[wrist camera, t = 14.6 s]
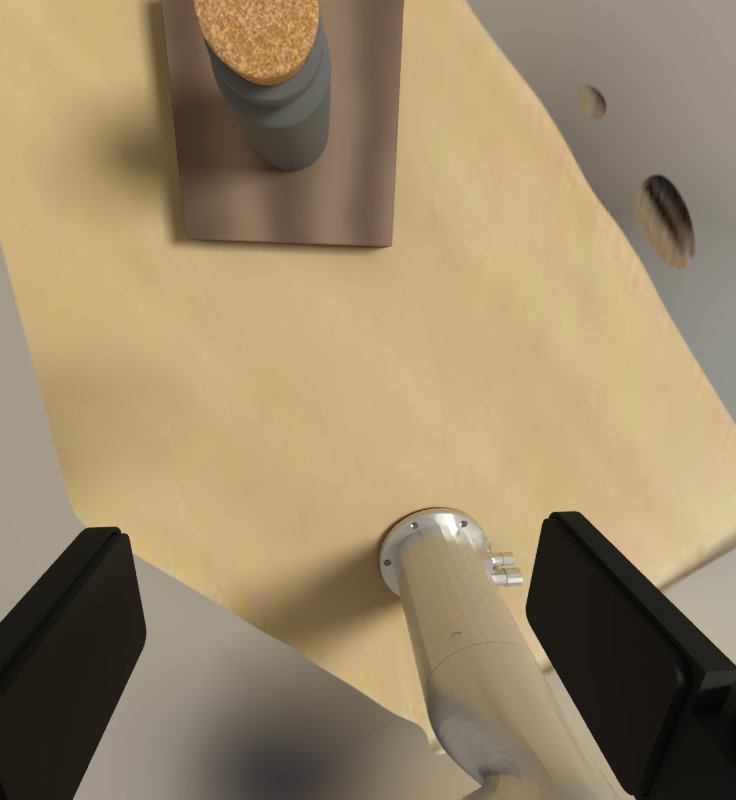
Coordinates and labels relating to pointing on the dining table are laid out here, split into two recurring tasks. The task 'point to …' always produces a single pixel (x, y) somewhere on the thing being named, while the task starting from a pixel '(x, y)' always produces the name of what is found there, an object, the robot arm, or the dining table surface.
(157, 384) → the dining table surface
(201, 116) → the base
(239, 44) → the bottle
